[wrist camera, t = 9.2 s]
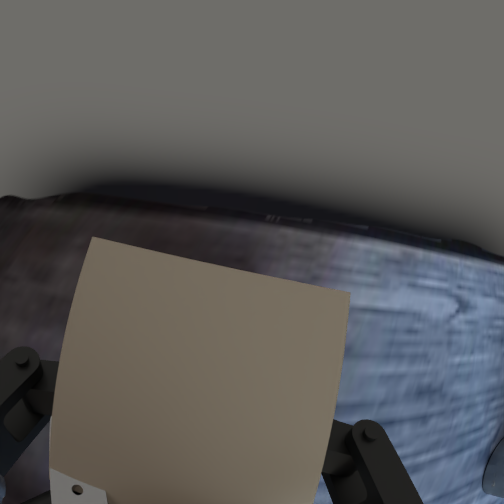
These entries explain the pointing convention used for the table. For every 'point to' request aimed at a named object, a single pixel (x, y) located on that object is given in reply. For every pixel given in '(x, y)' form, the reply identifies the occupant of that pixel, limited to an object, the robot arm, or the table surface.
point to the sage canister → (195, 381)
